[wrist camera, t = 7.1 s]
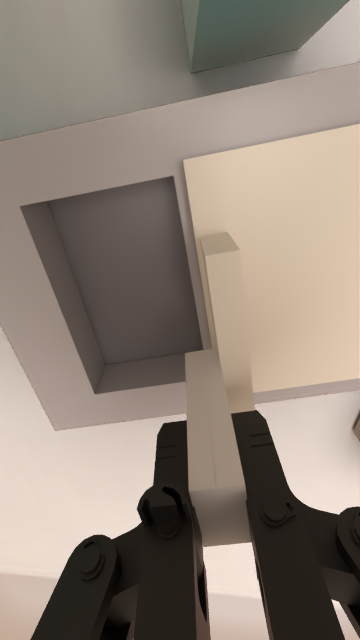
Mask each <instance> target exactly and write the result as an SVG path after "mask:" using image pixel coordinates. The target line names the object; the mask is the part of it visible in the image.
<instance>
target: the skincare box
mask: <svg viewBox="0 0 360 640" xmlns="http://www.w3.org/2000/svg"><path fill="white" fill-rule="evenodd" d="M354 433H355V435H356V436H357V438H358V439H359V441H360V418H359V420H358V422H357V424H356V426H355V428H354Z"/></svg>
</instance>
